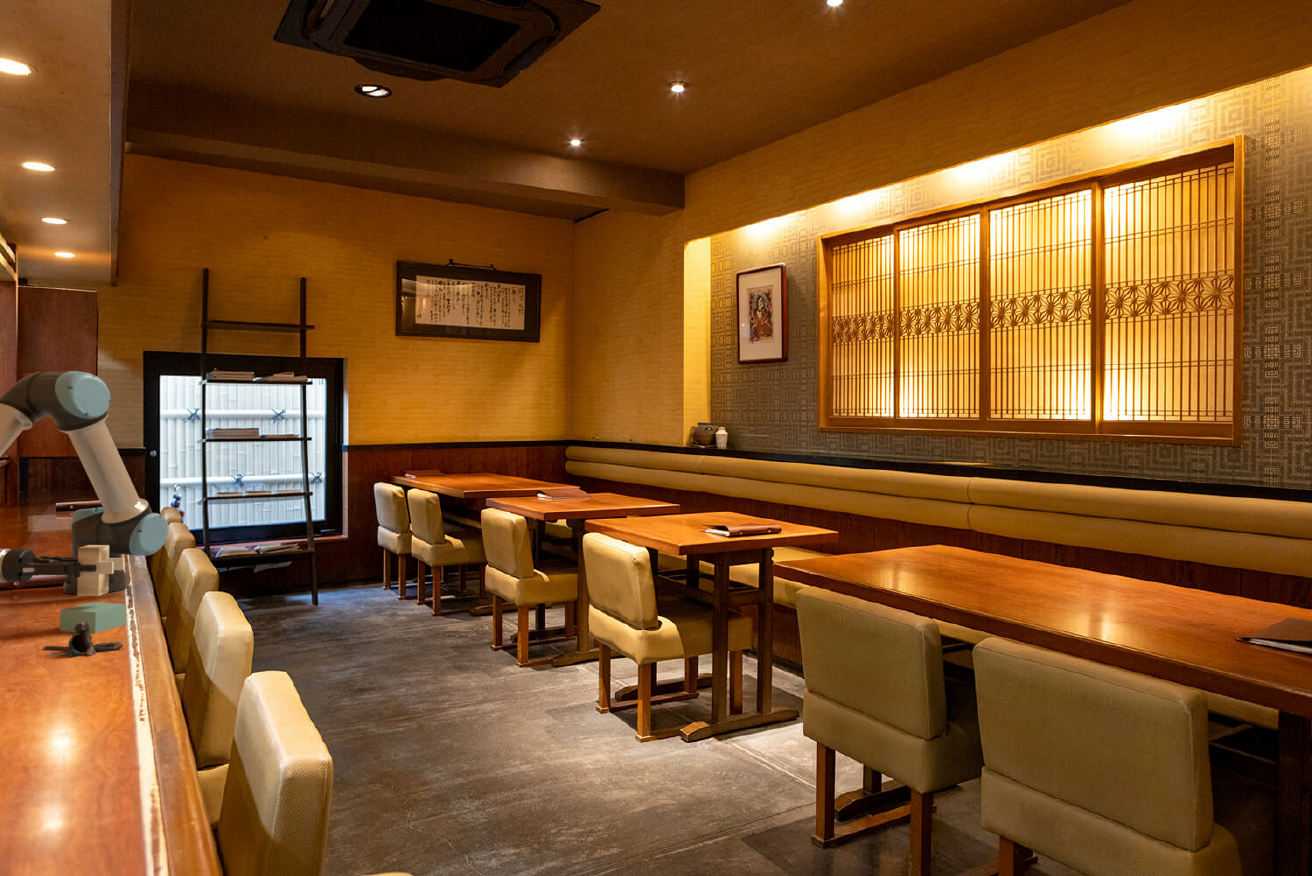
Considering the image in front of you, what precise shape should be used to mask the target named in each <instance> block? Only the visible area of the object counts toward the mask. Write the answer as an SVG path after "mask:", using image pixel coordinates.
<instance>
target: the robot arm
mask: <svg viewBox="0 0 1312 876" xmlns="http://www.w3.org/2000/svg"><path fill="white" fill-rule="evenodd" d="M110 401H111V394H110V390H109V388H108V386H107V384H106V383H105V382H104V380H103V379H101V378H100V377H98V376H97V375H94V374H92V373H90V372H83V371H80V370H79V371H77V370H72V371H71V370H70V371H37V372H34V373H33V372H32V373H30V374H28V375H26V376H24V377H23V378H21V379H20V380H18V381H16V382H15V383H14V384H12V385H11V386H10V387H9V388H8V389H7V390H6V391H5V392H4V393H3V394H2V395H1V396H0V458H1V457H2V455H4V454H5V452H6V451H7V449H9V447H10V446H11V445H12V444H13V443H14V442H15V440H17V438H18V437H19V435H21V433H22V432H23V431H25V430H30V429H32V427H33V426H34V425H35V423H37V422H39V420H42V419H45V418H52V421H53V422H54V424H55V426H56V428H57V429H58V431H59V432H62V433H63V434H64V433H65V434H67V435H68V437H69V439H70V441H71V444H72V445H73V447H74V449H75V451H76V453H77V456H78V457H79V460H80V462H81V465H82V466H83V468H84V470H85V472H86V475H87V477H88V478H89V481H90V483H91V485H92V486H93V489H94V492H95V494H96V496H97V498H98V499H99V502H100V504H101V505H102V507H101V506H99V507H91V508H81V509H77V510H75V511H74V512H73V514H72V519H71V524H70V525H71V556H61V555H59V556H58V555H55V556H48V555H44V556H43V555H40V556H39V557H36V555H35V553H34V552H33V551H32V549H28V548H13V549H10V548H0V583H6V582H8V583H26V582H28V581H30V580H31V579H33V576H34V577H36V576H66V577H65V580H64V583H63V593H66V594H71V595H72V594H74V595H77V589H78V577H80V572H81V574H109V584H108V593H111V592H118V591H121V590H125V589H127V588H128V583H129V582H128V577H127V575H126V572H125V563H126V562H125V561H126V560H125V558H124V557H121V556H122V555H128V556H135V557H140V556H150V555H153V554H155V553H157V552H158V551H159V550H160V549H162V547H163V546H164V544H165V543H166V541H167V537H168V535H169V524H168V521H167V519H166V518H165V517H164V516H163V515H162V514H159V513H157V512H153V511H152V508H151V506H150V504H149V502H148V500H146V499H144V498H140V497H139V495H138V492H137V490H136V488H135V486H134V484H133V482H132V479H131V477H130V475H129V473H128V471H127V469H126V466H125V464H124V461H123V459H122V457H121V456H120V454H119V451H118V449H117V448H118V447H117V446H116V444H115V442H114V440H113V438H112V436H111V434H110V432H109V428H108V427H107V424H106V422H105V421H106V420H107V418H108V417H109V412H108V409H109V408H110V403H109V402H110ZM87 545H109V562H90V561H83V562H82V565H80V563H79V562H78V548H79V547H83V546H87Z"/></svg>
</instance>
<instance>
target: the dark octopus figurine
mask: <svg viewBox="0 0 1312 876" xmlns="http://www.w3.org/2000/svg"><path fill="white" fill-rule="evenodd" d="M90 628H91V626H90V625H89V624H88V623H84V622H81V623H79V624H77V625H76V626H75V627H74V629H75V631H76V632H75V634H73V635H72V636H71V637H70V639H69V640H68V646H64V645H63V646H60V645H53V644H52V645H46V646H43V649H44V650H45V651H54V652H48V653H47V655H54V656H59V657H66V658H77V656H78V657H82V656H83V657H84V656H86V657H92V656H94V655H96V653H105V652H114V651H115V652H116V651H119V650H121V649H122V648H123V647H124V643H122V641H121V640H117V641H115V642H114V641H112V642H101V643H97V644H94V643H93V641H92V639H93V638H92V633H89V629H90ZM58 650H60V651H59V652H55V651H58ZM65 652H66V653H65Z"/></svg>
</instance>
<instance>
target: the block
mask: <svg viewBox="0 0 1312 876" xmlns="http://www.w3.org/2000/svg"><path fill="white" fill-rule="evenodd" d="M83 561H90V562H109V545H87V546H83V547H79V548H78V562H79V563H80V565H82V562H83ZM108 584H109V574H81V572H80V577H78V589H77V594H76V595H77V597H100V596H102V595H106V594H107V593H109V592H108Z"/></svg>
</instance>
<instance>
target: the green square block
mask: <svg viewBox="0 0 1312 876" xmlns="http://www.w3.org/2000/svg"><path fill="white" fill-rule="evenodd" d="M126 610H127V605H126V604H125V603H112V602H109V603H108V602H93V601H92V602H87V603H83V604H80V605H79V604H78V605H75V606H71V607H67V608H62V609H60V610H59V614H60V615H59V625H60V626H59V631H60V632H69V633H70V632H71V633H76V631H75V629H74V627H75V626H76V625H77V624H79V623H81V622H84V623H88V624H89V625H90V626H91V628H90V629H89V633H90V634H97V633H100V632H105V631H108V630H111V629H115V628H118V627H121V626H125V625H126V619H127V618H126V617H127V616H126V614H127V612H126Z"/></svg>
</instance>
